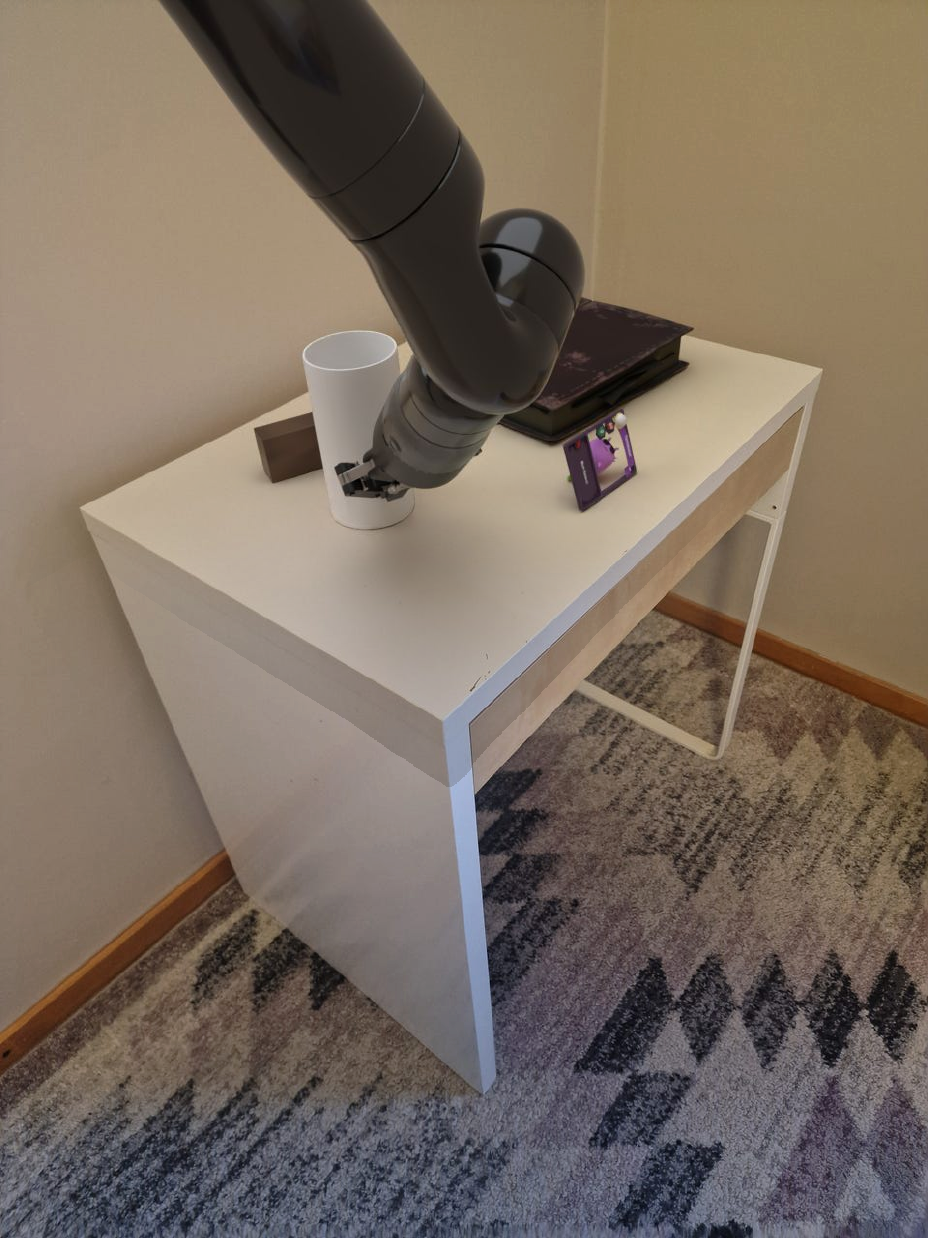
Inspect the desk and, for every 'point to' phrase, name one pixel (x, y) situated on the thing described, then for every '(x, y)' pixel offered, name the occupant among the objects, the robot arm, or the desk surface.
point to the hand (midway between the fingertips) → (390, 489)
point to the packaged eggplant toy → (597, 459)
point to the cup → (352, 416)
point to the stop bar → (289, 447)
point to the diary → (601, 368)
